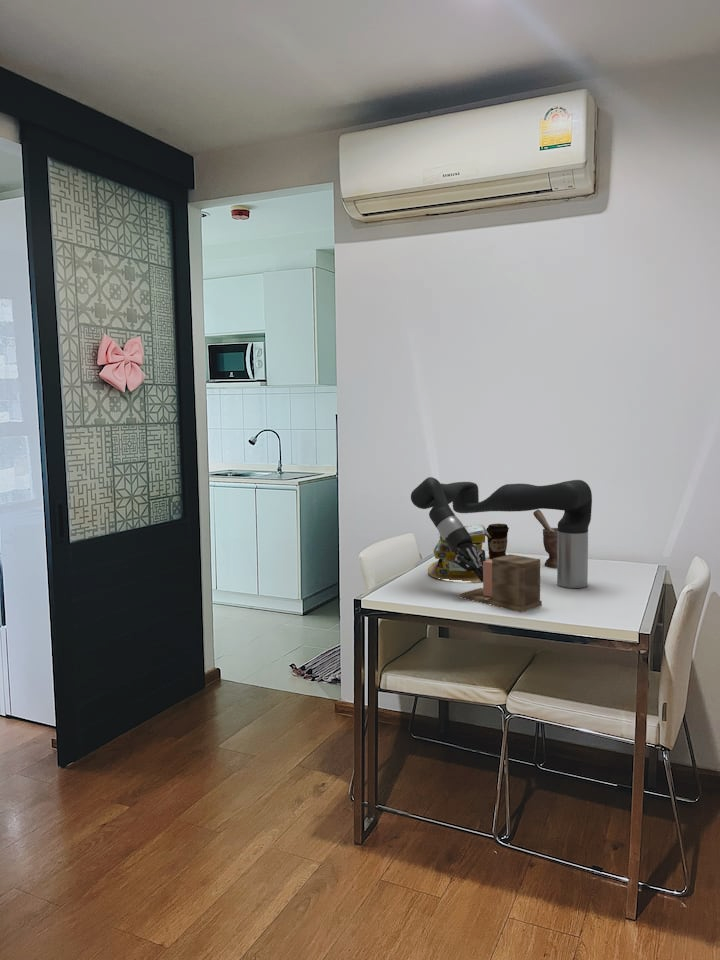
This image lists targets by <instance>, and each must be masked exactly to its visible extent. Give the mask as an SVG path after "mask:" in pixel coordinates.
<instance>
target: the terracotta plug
mask: <svg viewBox="0 0 720 960" xmlns="http://www.w3.org/2000/svg"><path fill="white" fill-rule="evenodd" d="M482 588H483V595H485V596H490V597H492V560H491V559H490V560H488V561H484V562H483V582H482Z"/></svg>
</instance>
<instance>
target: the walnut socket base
mask: <svg viewBox="0 0 720 960" xmlns="http://www.w3.org/2000/svg"><path fill="white" fill-rule="evenodd" d="M460 597H462V598H461V599H463V598H466V599H465V600H467V599H469V600H468V601H472V600H474V601H473V602H476V601H478V602H477V603H480V602H482V603H481V604H484V603H486V604H485V605H489V604H491V605H490V606H493V605H494V607H497V606H498V608H501V607H502V609H506V610H510V611H514V612H518V613H519V612H520V613H523V612H526V611H528V610H531V609H534V608H537V607H540V606H542V605H543V604H542V603H543V601H542V600H541V559H540V558H534V557H528V556H523V555H515V554H509V553H508V554H506V555H505V556H501V557H497V558H493V559H492V597H490V596H485V595H483V587H479V588H475V589H472V590H468V591H465V592H461V593H459V598H460Z"/></svg>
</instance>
